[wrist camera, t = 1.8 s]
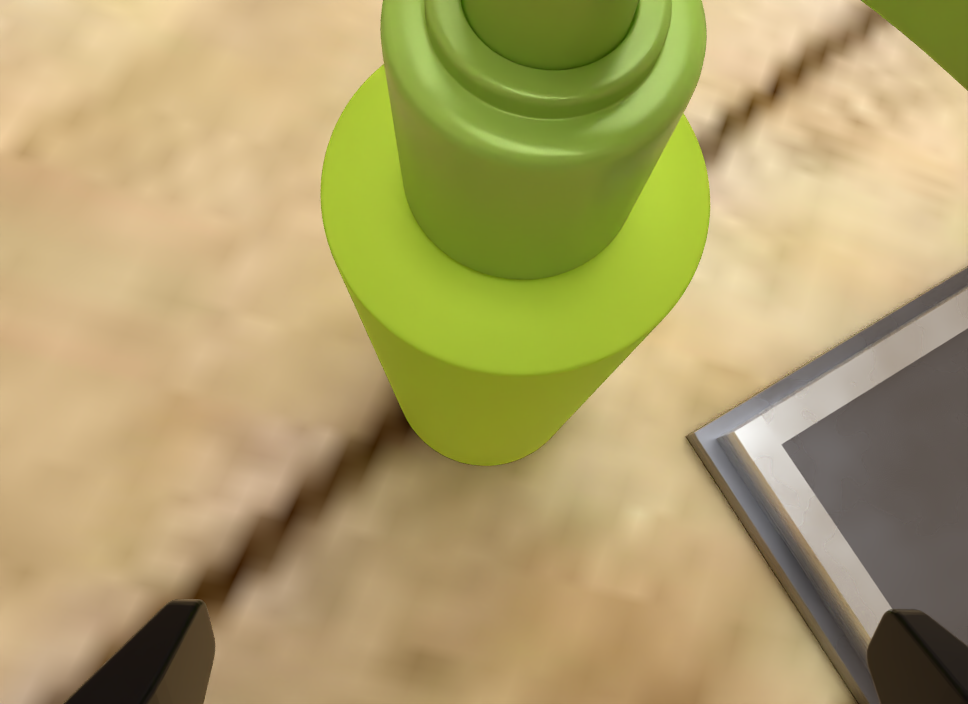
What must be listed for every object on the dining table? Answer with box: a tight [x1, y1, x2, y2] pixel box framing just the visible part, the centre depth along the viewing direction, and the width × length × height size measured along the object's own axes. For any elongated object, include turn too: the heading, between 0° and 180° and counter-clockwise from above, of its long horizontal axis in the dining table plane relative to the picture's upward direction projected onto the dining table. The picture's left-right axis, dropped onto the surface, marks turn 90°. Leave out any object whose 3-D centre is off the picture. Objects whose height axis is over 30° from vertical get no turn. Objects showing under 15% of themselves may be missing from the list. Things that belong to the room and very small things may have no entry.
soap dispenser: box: [321, 0, 968, 466], centre depth 13 cm, size 6×7×20 cm
